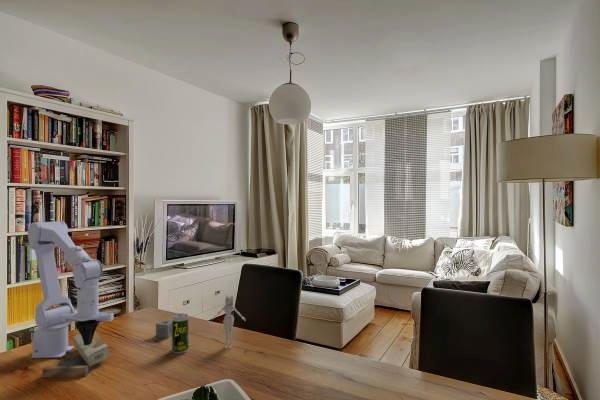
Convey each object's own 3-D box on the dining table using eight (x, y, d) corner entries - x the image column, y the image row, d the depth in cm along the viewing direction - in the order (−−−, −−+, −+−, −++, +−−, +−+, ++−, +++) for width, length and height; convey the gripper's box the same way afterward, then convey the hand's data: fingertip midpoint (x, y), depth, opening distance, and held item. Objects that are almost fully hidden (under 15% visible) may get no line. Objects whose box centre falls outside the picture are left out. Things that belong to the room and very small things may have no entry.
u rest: (42, 377, 106) (42, 368, 106) (68, 357, 119) (68, 349, 119) (85, 376, 107) (85, 368, 107) (106, 356, 120) (106, 349, 120)
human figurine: (210, 347, 128) (210, 296, 127) (214, 343, 132) (214, 293, 131) (243, 349, 126) (244, 297, 126) (246, 344, 130) (247, 294, 130)
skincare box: (87, 356, 110) (71, 337, 118) (89, 367, 112) (73, 347, 119) (108, 345, 115) (92, 327, 122) (111, 355, 117) (94, 337, 124)
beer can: (171, 348, 126) (171, 314, 126) (187, 346, 128) (187, 312, 128) (172, 355, 121) (172, 319, 121) (189, 352, 124) (189, 317, 123)
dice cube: (155, 337, 137) (155, 323, 136) (163, 332, 141) (163, 319, 141) (167, 338, 135) (167, 325, 135) (175, 333, 140) (175, 320, 140)
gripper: (55, 304, 109) (55, 350, 109) (106, 304, 109) (106, 349, 110) (69, 297, 116) (69, 340, 116) (116, 297, 116) (116, 339, 117)
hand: (88, 344), depth 113 cm, fingers closed
